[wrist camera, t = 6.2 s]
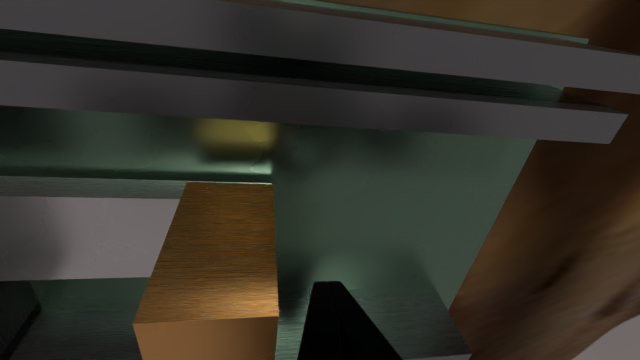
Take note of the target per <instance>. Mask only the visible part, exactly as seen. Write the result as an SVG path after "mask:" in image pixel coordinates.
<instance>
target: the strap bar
mask: <svg viewBox="0 0 640 360" xmlns="http://www.w3.org/2000/svg"><path fill="white" fill-rule="evenodd" d="M131 277H150V279H149V282H148V285H147V287H146V290H145V292H144V295H143V298H142V300H141V303H140V305H139V308H138V311H137V313H136V316H135V318H134V321H133V328H134V331H135V335H136V338H137V341H138V345H139V348H140V352H141V355H142V359H143V360H275V352H276V341H277V330H278V320H279V309H278V286H277V262H276V239H275V216H274V192H273V184H272V183H245V182H209V181H172V180H136V179H100V178H63V177H27V176H0V281H18V280H56V279H94V278H131Z"/></svg>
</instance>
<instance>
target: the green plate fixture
mask: <svg viewBox="0 0 640 360" xmlns="http://www.w3.org/2000/svg"><path fill="white" fill-rule="evenodd" d="M588 41H589V39H586V38H581V37H575V36H570V35H564V34H558V33H551V32H544V31H537V30H530V29H523V28H516V27H509V26H501V25H494V24H487V23H480V22H473V21H466V20H459V19H452V18H444V17H437V16H430V15H423V14H416V13H409V12H402V11H395V10H388V9H380V8H373V7H366V6H359V5H352V4H345V3H338V2H331V1H323V0H0V176H27V177H63V178H100V179H136V180H172V181H209V182H245V183H272V184H273V192H274V216H275V239H276V262H277V286H278V309H279V320H278V330H277V341H276V352H275V360H297V357H298V353H299V348H300V343H301V338H302V334H303V329H304V324H305V319H306V314H307V310H308V305H309V300H310V295H311V291H312V286H313V283H314V282H315V281H326V282H327V281H341V282H342V283H343V285H344V286H345V287H346V288H347V290H348V291H349V292H350V293H351V295H352V296H353V297H354V298H355V300H356V301H357V302H358V303H359V305H360V306H361V307H362V309H363V310H364V311H365V312H366V314H367V315H368V316H369V317H370V319H371V320H372V321H373V322H374V324H375V325H376V326H377V328H378V329H379V330H380V331H381V333H382V334H383V335H384V336H385V338H386V339H387V340H388V341H389V343H390V344H391V345H392V346H393V348H394V349H395V350H396V352H397V353H398V354H399V355H400V357H401V358H402V359H403V360H468V359H469V358H470V356H471V355H472V353H471V351H470V349H469V348H468V346H467V344H466V342H465V340H464V339H463V337H462V335H461V333H460V331H459V330H458V328H457V326H456V324H455V322H454V321H453V319H452V317H451V315H450V313H449V312H448V310H449V308H450V306H451V304H452V302H453V300H454V298H455V296H456V294H457V292H458V290H459V289H460V287H461V285H462V283H463V281H464V279H465V277H466V275H467V273H468V271H469V269H470V267H471V265H472V264H473V262H474V260H475V258H476V256H477V254H478V252H479V250H480V248H481V246H482V244H483V242H484V241H485V239H486V237H487V235H488V233H489V231H490V229H491V227H492V225H493V223H494V221H495V219H496V217H497V216H498V214H499V212H500V210H501V208H502V206H503V204H504V202H505V200H506V198H507V196H508V194H509V193H510V191H511V189H512V187H513V185H514V183H515V181H516V179H517V177H518V175H519V173H520V171H521V169H522V168H523V166H524V164H525V162H526V160H527V158H528V156H529V154H530V152H531V150H532V148H533V146H534V145H535V143H536V141H537V139H539V140H555V141H571V142H586V143H602V144H610V142H611V141H612V139H613V138H614V136H615V135H616V133H617V132H618V130H619V129H620V127H621V126H622V124H623V122H624V121H625V119H626V118H627V116H628V115H629V114H626V113H623V112H620V111H618V110H615V109H612V108H610V107H607V106H604V105H602V104H599V103H596V102H593V101H591V100H588V99H585V98H583V97H580V96H577V95H574V94H572V93H569V92H566V91H564V90H563V89H564V87H574V88H584V89H593V90H603V91H613V92H622V93H632V94H640V54H635V53H629V52H624V51H619V50H614V49H609V48H604V47H599V46H594V45H589V44H587V43H588ZM149 279H150V277H131V278H94V279H56V280H18V281H0V360H143V359H142V355H141V352H140V348H139V345H138V341H137V338H136V335H135V331H134V328H133V321H134V318H135V316H136V313H137V311H138V308H139V305H140V303H141V300H142V298H143V295H144V292H145V290H146V287H147V285H148V282H149Z"/></svg>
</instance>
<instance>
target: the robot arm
mask: <svg viewBox="0 0 640 360" xmlns="http://www.w3.org/2000/svg"><path fill="white" fill-rule="evenodd" d="M297 360H403V359H402V358H401V357H400V355H399V354H398V353H397V352H396V350H395V349H394V348H393V346H392V345H391V344H390V343H389V341H388V340H387V339H386V338H385V336H384V335H383V334H382V333H381V331H380V330H379V329H378V328H377V326H376V325H375V324H374V322H373V321H372V320H371V319H370V317H369V316H368V315H367V314H366V312H365V311H364V310H363V309H362V307H361V306H360V305H359V303H358V302H357V301H356V300H355V298H354V297H353V296H352V295H351V293H350V292H349V291H348V290H347V288H346V287H345V286H344V285H343V283H342V282H341V281H327V282H326V281H315V282H314V283H313V286H312V291H311V295H310V300H309V305H308V310H307V314H306V319H305V324H304V329H303V334H302V338H301V343H300V348H299V353H298V357H297Z"/></svg>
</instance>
